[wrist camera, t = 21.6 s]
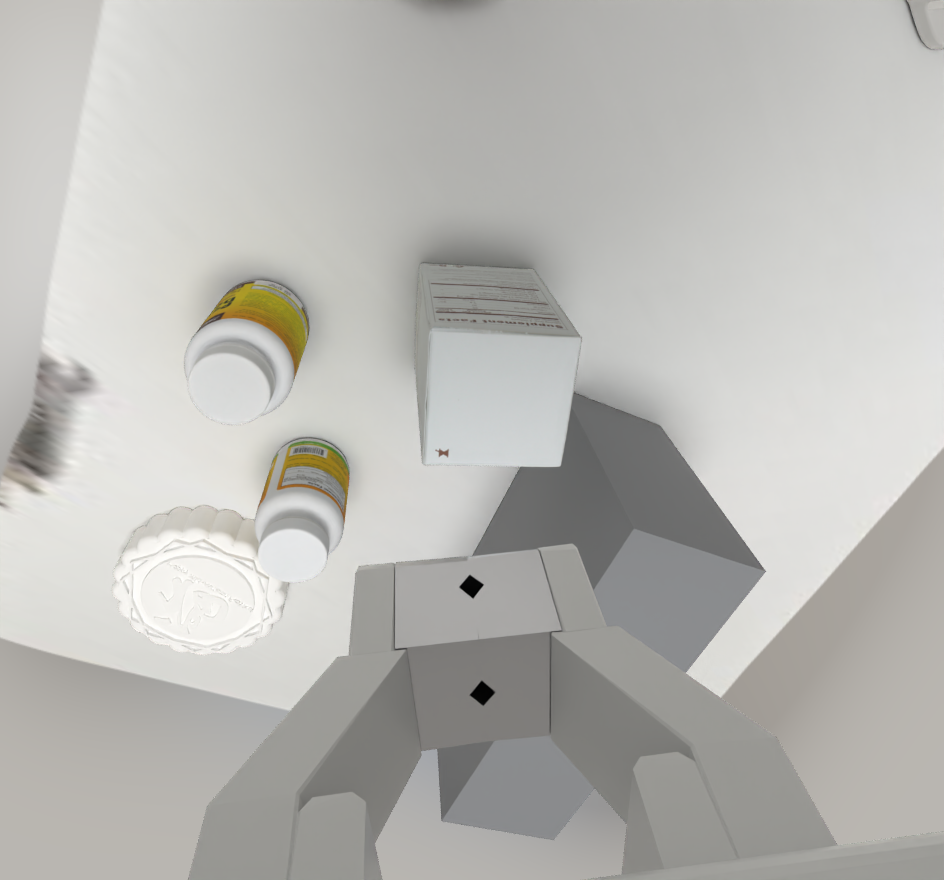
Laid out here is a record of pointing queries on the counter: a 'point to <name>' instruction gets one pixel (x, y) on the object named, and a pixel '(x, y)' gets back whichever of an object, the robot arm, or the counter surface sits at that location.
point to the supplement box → (492, 367)
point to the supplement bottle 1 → (247, 353)
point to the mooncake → (197, 582)
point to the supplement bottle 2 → (302, 510)
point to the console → (603, 592)
